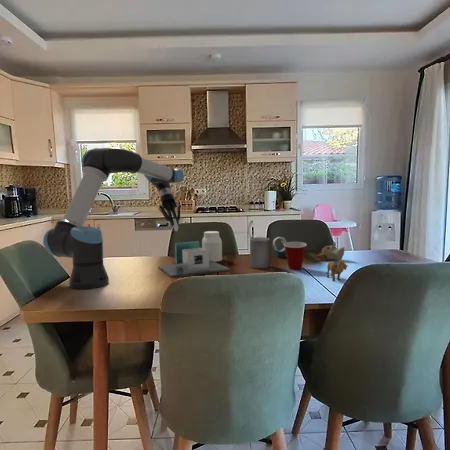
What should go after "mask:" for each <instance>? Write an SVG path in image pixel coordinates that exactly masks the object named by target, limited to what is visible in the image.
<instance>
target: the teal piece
mask: <svg viewBox="0 0 450 450" xmlns="http://www.w3.org/2000/svg"><path fill="white" fill-rule="evenodd" d="M174 246H175V247H174V248H175V249H174V253H175V264H182V263H183V254H182V249H193V248H201V246H200V241H199V240H196V241H186V242H185V241H184V242H175V243H174ZM198 259H199V257H198V256H194V261H198Z"/></svg>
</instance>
